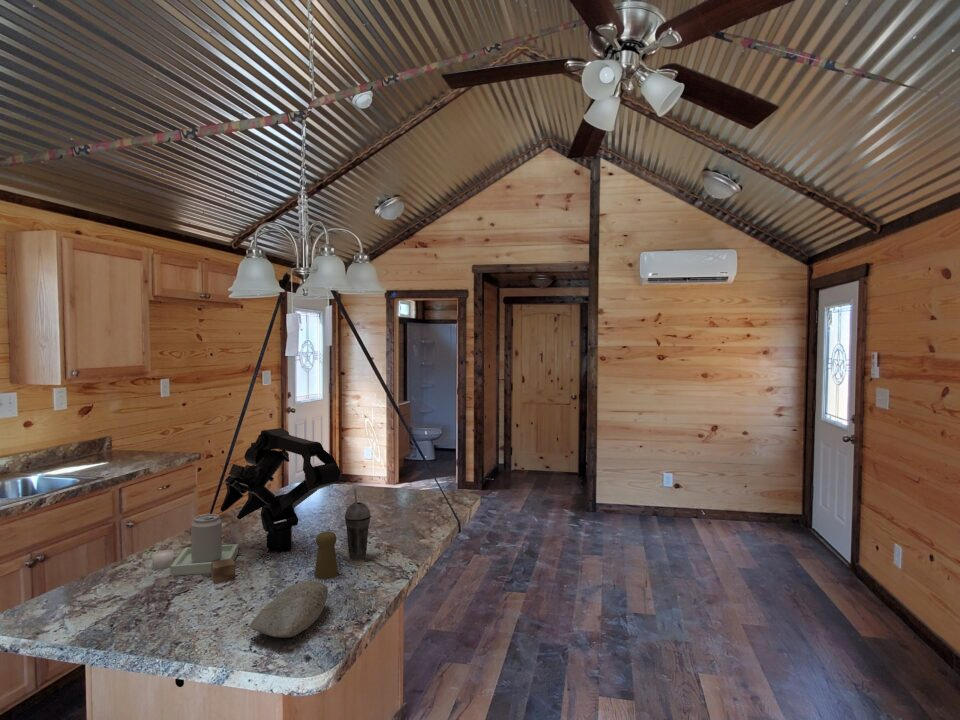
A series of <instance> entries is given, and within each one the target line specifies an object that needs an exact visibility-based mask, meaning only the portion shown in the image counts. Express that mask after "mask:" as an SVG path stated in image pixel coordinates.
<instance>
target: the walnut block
mask: <svg viewBox="0 0 960 720" xmlns="http://www.w3.org/2000/svg"><path fill="white" fill-rule="evenodd" d="M210 577H211V580H212V582H213V584H217V583H224V582H227V581H234V580H236V563H235V560H234V561H233V559H232V558H229V559H224V560H218V561H213V562H211V573H210Z"/></svg>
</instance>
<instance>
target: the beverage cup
mask: <svg viewBox="0 0 960 720" xmlns="http://www.w3.org/2000/svg"><path fill="white" fill-rule="evenodd" d="M353 489H354V491H353V492H354V502H353V503H351V504H350V505H349V506H348V507H347V508H346V510H345V514H344V522H345V525H346V536H347V537H346V538H347V547H348V549H347V550H348V555H349V557H348V558H349V559H350V560H352V561H360V560H364V559H365V558H366V556H367V549H368V539H369V538H368V537H369V536H368V535H369V525H370V521H371V517H372V516H371V512H370V509H369V507H368V506H367V505H366V504H365V503H363V502H361V501H359V502H358V497H357V495H358V494H357V487H354V488H353Z"/></svg>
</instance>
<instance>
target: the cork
mask: <svg viewBox="0 0 960 720" xmlns="http://www.w3.org/2000/svg"><path fill="white" fill-rule="evenodd" d="M337 540H338V539H337V535H336V534H335V532H333V531H322V532H320V533H319V534H317V536H316V538H315V543H316V546H317V553H316V560H315V569H314V574H313V576H314V577H315V578H316V579H317V580H329V579H333V578H336V577H337V576H338V575H339V569H338V562H337V554H336V547H335V545H336V543H337Z"/></svg>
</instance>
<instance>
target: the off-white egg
mask: <svg viewBox="0 0 960 720" xmlns="http://www.w3.org/2000/svg"><path fill="white" fill-rule="evenodd" d="M151 555H152V558H151V559H152V561H151V563H152V565H151V567H152V569H153V570H166V569H169V568H170V566H171V565H172V564H173V562H174V561H175V559H174V550H172V549H163V550H158V551H155V552H153V553H152V554H151Z"/></svg>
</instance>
